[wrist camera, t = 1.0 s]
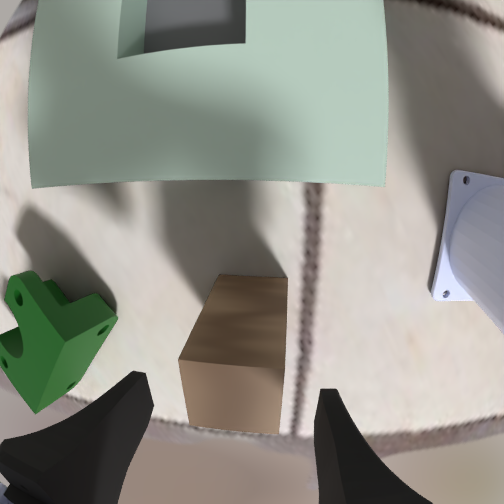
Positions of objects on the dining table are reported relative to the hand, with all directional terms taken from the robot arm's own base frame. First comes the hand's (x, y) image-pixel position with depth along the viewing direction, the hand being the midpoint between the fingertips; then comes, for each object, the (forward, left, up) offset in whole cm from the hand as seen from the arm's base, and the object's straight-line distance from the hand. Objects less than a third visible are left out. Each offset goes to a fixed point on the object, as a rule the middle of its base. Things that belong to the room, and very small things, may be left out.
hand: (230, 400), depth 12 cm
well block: (+3, -17, -8) cm, 19 cm away
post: (0, 0, -8) cm, 8 cm away
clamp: (+15, +3, -8) cm, 17 cm away
